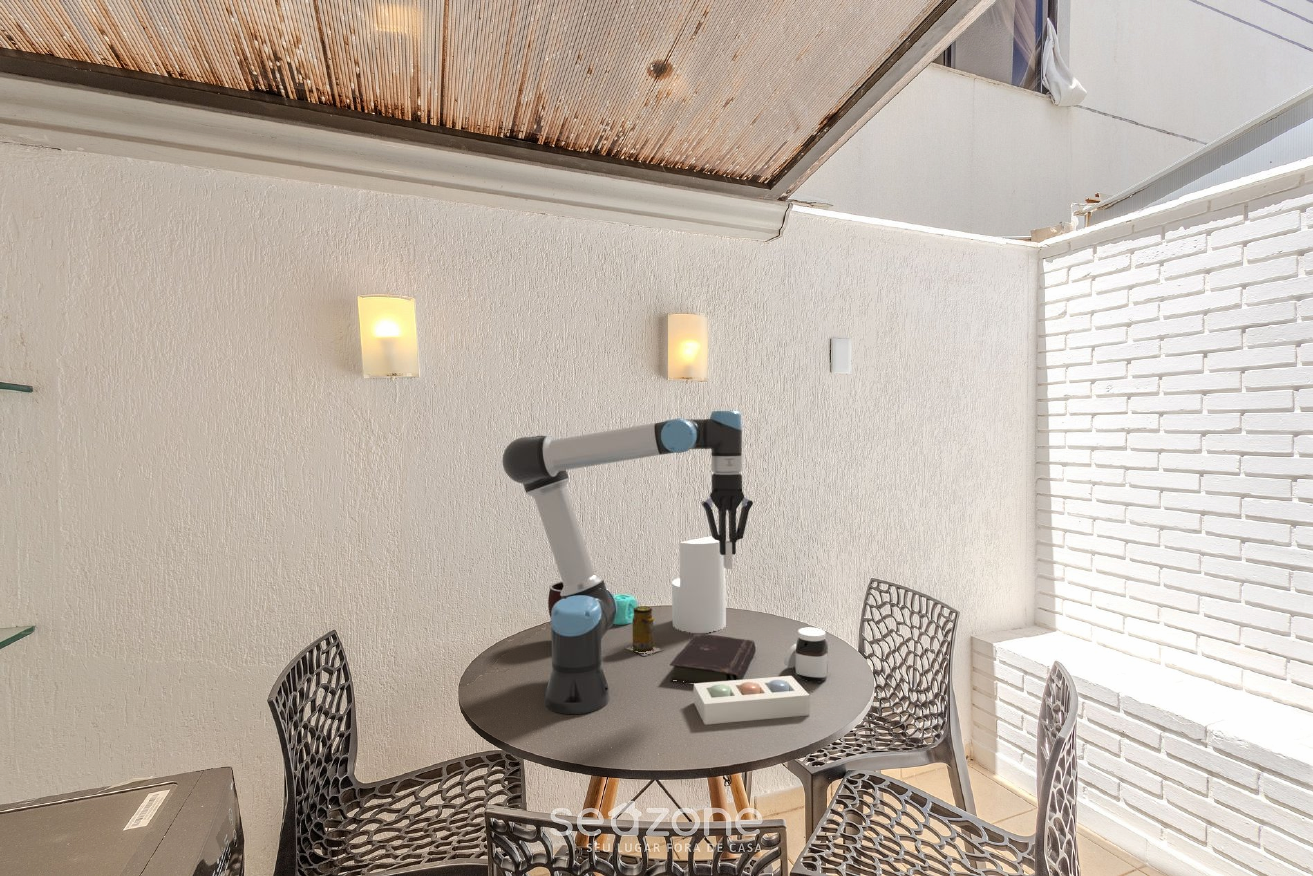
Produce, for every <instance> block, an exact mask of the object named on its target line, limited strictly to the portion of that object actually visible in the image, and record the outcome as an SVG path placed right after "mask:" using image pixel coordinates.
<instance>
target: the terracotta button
mask: <svg viewBox="0 0 1313 876" xmlns="http://www.w3.org/2000/svg"><path fill="white" fill-rule="evenodd" d="M740 693H741V694H742V695H750V694H760V686H759V685H758V684H757V683H753V682H745V683H742V684H741V685H740Z"/></svg>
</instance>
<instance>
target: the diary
mask: <svg viewBox="0 0 1313 876" xmlns="http://www.w3.org/2000/svg"><path fill="white" fill-rule="evenodd" d="M755 643H756V642H755V640H751V639H744V638H735V637H730V636H724V635H716V634H715V635H714V634H706V633H694V635H693V636H692V638H691V639H690V640H689V641H688V643H686V645H685V646H684V648H683V649H682V650H681V651H680V652H679V653H677V654H676V656H675V657H674V658H673V660H672V661H671V662H670V663H669V666H671V667H673V669H674V673H673V674H674V676H673V677H672V678H671V679H670V680H669V682H670V683H676V682H677V684H684V683H707V682H719V681H732V680H743V678H744V676H745V675H746V672H747V670H748V669H749V666H750V664H751V661H752V660H753V658H754V656H755V654H756V650H757V649H756V644H755ZM744 674H745V675H744ZM729 679H731V680H729ZM673 680H677V681H673ZM683 681H684V682H683Z"/></svg>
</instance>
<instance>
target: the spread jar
mask: <svg viewBox="0 0 1313 876" xmlns="http://www.w3.org/2000/svg"><path fill="white" fill-rule="evenodd" d="M797 637H798V638H797V640H796V643H794V644H793V645H791V647H790V648H789V649H788V651H786V654H785V655H784V656H785V657H784V662H783V663H784V665H785V666H786V667H787V668H789V669H791V668H792V669H794V668H793V667H795V674H796V676H797V677H798V678H799V679H801V680H802V679H803V681H805V680H807V681H806V682H810V681H812V682H811V683H817V682H818V681H820V682H823V681H825V680H826V679H827V677H828V672H829V671H828V668H829V657H828V656H829V649H828V647H829V645H828V642H827V640H826V631H825V630H823V629H822V628H818V627H811V626H810V627H808V626H807V627H802V628H799V629H798V630H797Z"/></svg>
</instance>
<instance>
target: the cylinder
mask: <svg viewBox="0 0 1313 876" xmlns="http://www.w3.org/2000/svg"><path fill="white" fill-rule="evenodd" d="M671 591H672V592H671V594H672V595H671V598H672V600H671V601H672V602H671V603H672V605H671V606H672V608H671V609H672V627H673V628H674V627H675V628H674V629H675V630H678V629H679V630H678V631H680V630H681V632H684V631H686V632H685V633H689V632H690V634H710V633H709V632H711V633H714V632H713V631H716V632H719V631H718V630H720V629H722V630H723V628H724V627H725V628H726V626H727V622H726V621H727V618H726V617H727V614H726V612H727V611H726V610H727V609H726V608H727V607H726V605H727V604H726V603H727V602H726V601H727V599H726V596H727V595H726V568H725V567H724V561H723V555H721V554H720V546H719V541H718V540H715V539H714V538H712V535H710V536H706V537H700V538H696V539H689V540H685V541H680V542H679V577H678V578H675V579H674V580H673V581H672V582H671ZM725 628H724V629H725ZM720 631H721V630H720Z"/></svg>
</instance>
